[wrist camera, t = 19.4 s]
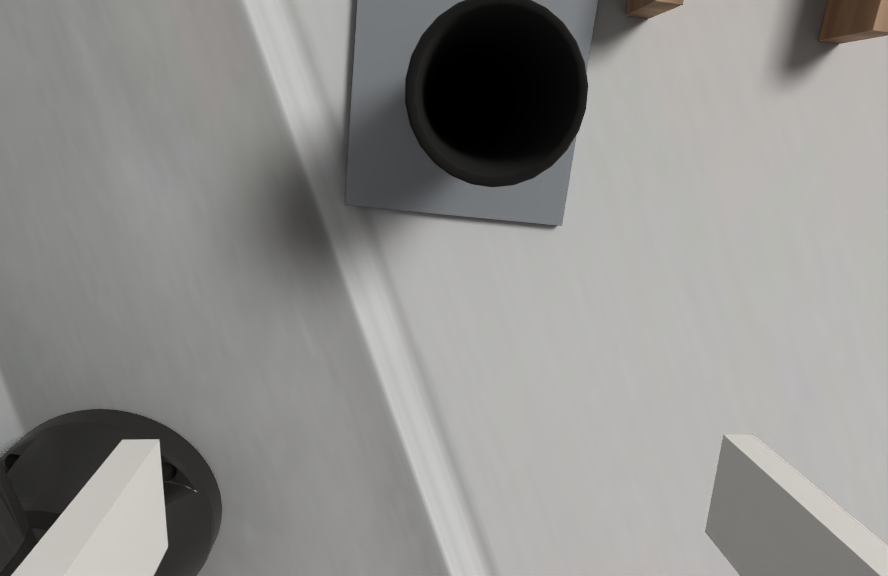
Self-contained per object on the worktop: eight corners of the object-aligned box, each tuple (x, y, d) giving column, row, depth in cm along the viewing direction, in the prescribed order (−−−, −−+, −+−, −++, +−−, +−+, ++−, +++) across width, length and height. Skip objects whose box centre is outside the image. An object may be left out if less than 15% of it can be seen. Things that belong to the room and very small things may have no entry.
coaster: (345, 203, 38) (344, 204, 37) (360, -39, 34) (360, -42, 34) (559, 224, 39) (561, 225, 39) (596, -8, 36) (599, -10, 35)
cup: (377, 93, 36) (366, 80, 24) (476, 5, 35) (513, -52, 23) (458, 191, 38) (483, 223, 26) (554, 111, 37) (623, 107, 25)
